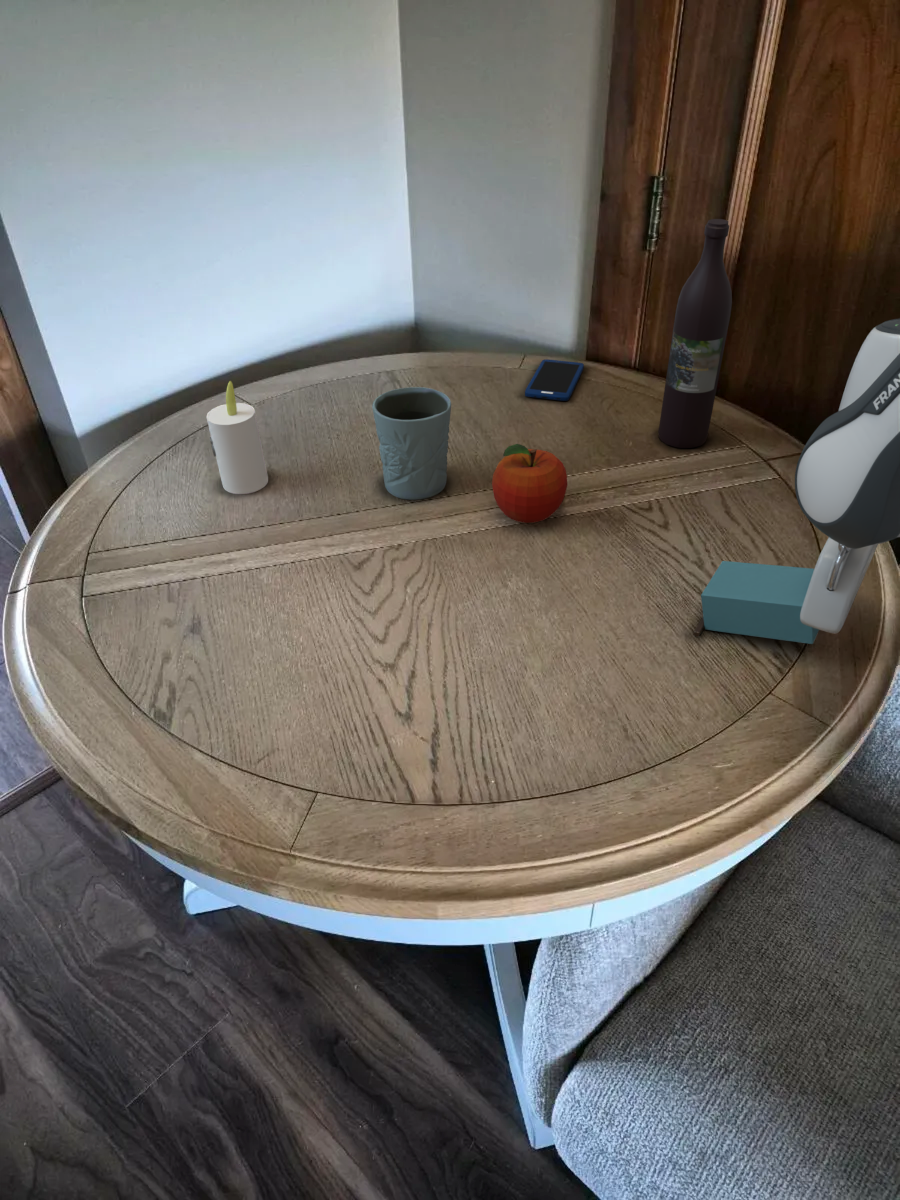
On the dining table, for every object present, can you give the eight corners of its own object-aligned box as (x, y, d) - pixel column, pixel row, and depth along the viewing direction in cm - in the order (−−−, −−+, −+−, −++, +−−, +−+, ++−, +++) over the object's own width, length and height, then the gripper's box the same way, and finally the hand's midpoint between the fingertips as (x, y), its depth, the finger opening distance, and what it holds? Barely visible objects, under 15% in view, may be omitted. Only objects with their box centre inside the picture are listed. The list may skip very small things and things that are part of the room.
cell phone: (523, 396, 133) (523, 392, 133) (542, 362, 143) (543, 358, 143) (568, 402, 131) (568, 397, 131) (584, 366, 141) (585, 362, 141)
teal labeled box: (830, 605, 87) (830, 569, 84) (813, 644, 82) (812, 607, 80) (725, 594, 93) (722, 560, 91) (704, 629, 89) (700, 594, 86)
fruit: (574, 528, 104) (580, 459, 98) (501, 538, 103) (502, 468, 96) (553, 489, 111) (557, 422, 105) (484, 498, 110) (484, 431, 104)
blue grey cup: (366, 493, 112) (358, 412, 104) (400, 458, 119) (394, 380, 111) (434, 508, 109) (430, 426, 101) (464, 472, 116) (463, 392, 108)
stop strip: (728, 587, 94) (729, 583, 94) (698, 637, 88) (699, 633, 87) (723, 585, 94) (724, 581, 94) (692, 635, 88) (693, 631, 88)
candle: (219, 475, 117) (195, 375, 107) (265, 467, 118) (245, 368, 109) (223, 498, 112) (199, 395, 103) (271, 489, 114) (251, 387, 104)
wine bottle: (648, 439, 121) (678, 223, 102) (674, 422, 125) (707, 210, 106) (690, 454, 117) (729, 233, 98) (715, 436, 121) (758, 220, 102)
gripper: (882, 563, 67) (838, 685, 75) (926, 456, 80) (884, 571, 88) (802, 541, 69) (768, 661, 78) (857, 441, 83) (823, 554, 91)
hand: (830, 612), depth 83 cm, fingers closed, pressing on teal labeled box
